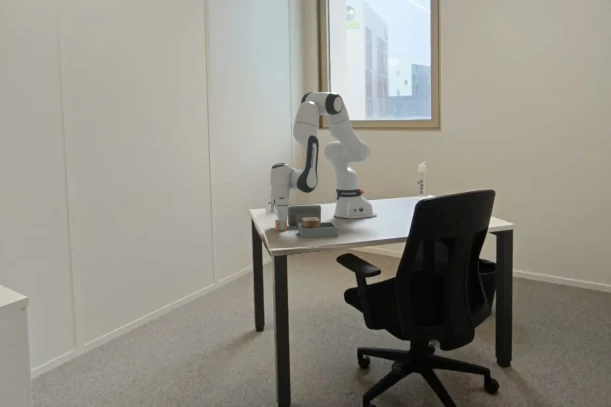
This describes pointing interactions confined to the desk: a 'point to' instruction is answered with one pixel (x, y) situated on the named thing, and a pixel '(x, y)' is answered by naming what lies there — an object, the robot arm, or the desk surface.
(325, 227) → the tote
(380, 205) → the desk surface
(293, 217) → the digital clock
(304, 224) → the block
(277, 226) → the light cube
